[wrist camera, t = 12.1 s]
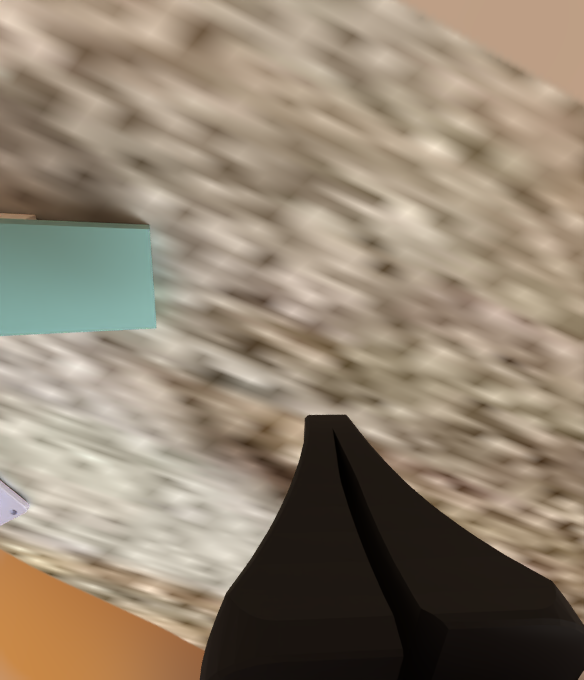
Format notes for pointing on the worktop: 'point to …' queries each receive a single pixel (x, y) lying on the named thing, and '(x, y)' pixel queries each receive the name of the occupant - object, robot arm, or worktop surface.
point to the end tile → (74, 277)
